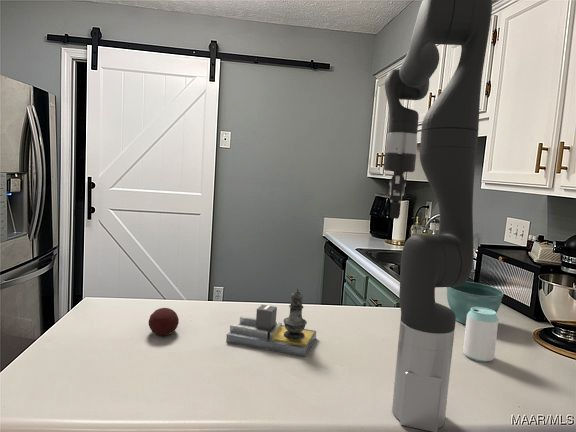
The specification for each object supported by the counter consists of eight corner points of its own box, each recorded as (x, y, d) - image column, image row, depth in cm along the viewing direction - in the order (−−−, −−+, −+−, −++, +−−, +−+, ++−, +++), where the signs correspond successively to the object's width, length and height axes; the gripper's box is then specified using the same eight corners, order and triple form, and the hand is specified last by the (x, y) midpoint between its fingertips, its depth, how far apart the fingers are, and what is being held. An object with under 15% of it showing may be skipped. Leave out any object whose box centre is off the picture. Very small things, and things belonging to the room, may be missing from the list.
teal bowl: (511, 329, 125) (516, 294, 124) (470, 333, 119) (475, 297, 118) (470, 311, 140) (473, 280, 139) (432, 314, 134) (435, 282, 133)
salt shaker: (278, 336, 102) (281, 288, 101) (289, 328, 107) (292, 283, 106) (299, 341, 100) (303, 293, 98) (309, 334, 105) (313, 287, 103)
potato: (145, 340, 100) (146, 315, 100) (151, 325, 110) (152, 302, 110) (176, 340, 102) (177, 316, 101) (180, 325, 111) (180, 302, 111)
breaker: (270, 335, 103) (271, 310, 102) (255, 332, 104) (256, 308, 104) (275, 329, 107) (276, 306, 106) (260, 326, 108) (262, 303, 107)
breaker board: (304, 356, 97) (305, 342, 96) (225, 342, 102) (226, 328, 102) (315, 338, 108) (316, 325, 108) (244, 325, 114) (244, 313, 113)
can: (475, 364, 99) (481, 315, 98) (456, 351, 106) (461, 306, 104) (500, 362, 101) (506, 314, 99) (479, 350, 107) (484, 305, 106)
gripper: (386, 153, 111) (381, 213, 113) (383, 149, 98) (377, 217, 99) (415, 154, 109) (410, 216, 111) (416, 151, 96) (410, 220, 97)
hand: (394, 216), depth 105 cm, fingers open, 8 cm apart
